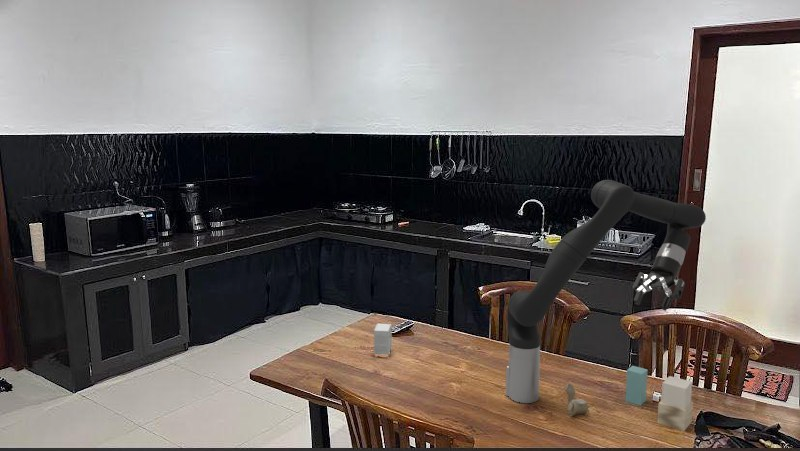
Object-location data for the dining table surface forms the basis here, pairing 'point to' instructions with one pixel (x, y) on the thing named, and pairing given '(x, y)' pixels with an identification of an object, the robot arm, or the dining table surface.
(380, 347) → the small box
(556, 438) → the dining table surface
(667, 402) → the cream block
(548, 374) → the dining table surface
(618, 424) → the dining table surface
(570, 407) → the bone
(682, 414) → the beech block
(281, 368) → the dining table surface
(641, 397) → the teal block
